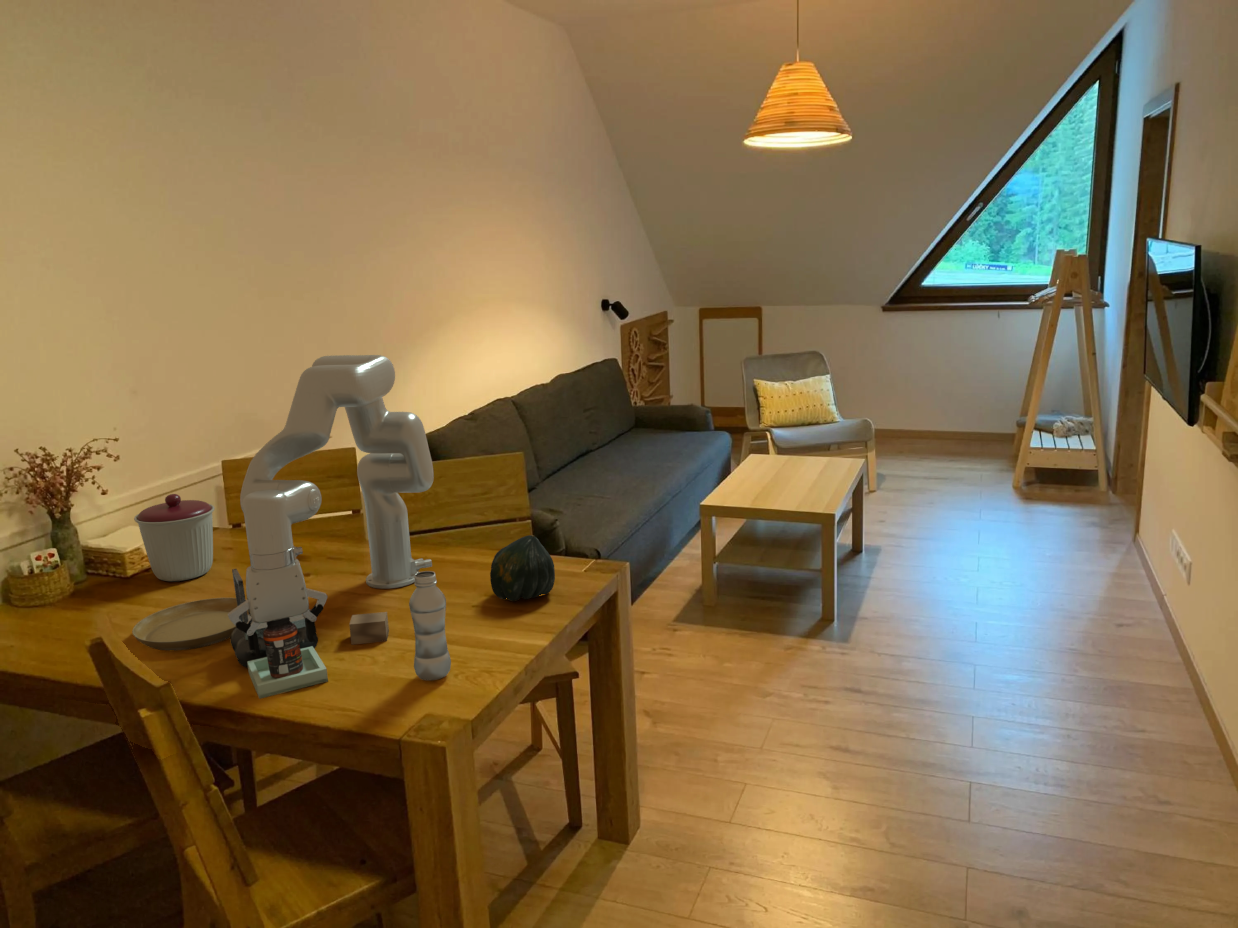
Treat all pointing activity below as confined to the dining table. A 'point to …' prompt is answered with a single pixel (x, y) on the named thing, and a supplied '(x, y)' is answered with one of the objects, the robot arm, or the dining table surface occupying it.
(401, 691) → the dining table surface
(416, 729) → the dining table surface
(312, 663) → the tray
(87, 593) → the dining table surface
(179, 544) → the canister
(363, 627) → the block
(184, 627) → the plant saucer
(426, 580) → the plastic bottle
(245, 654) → the trolley
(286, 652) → the supplement bottle
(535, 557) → the squash
